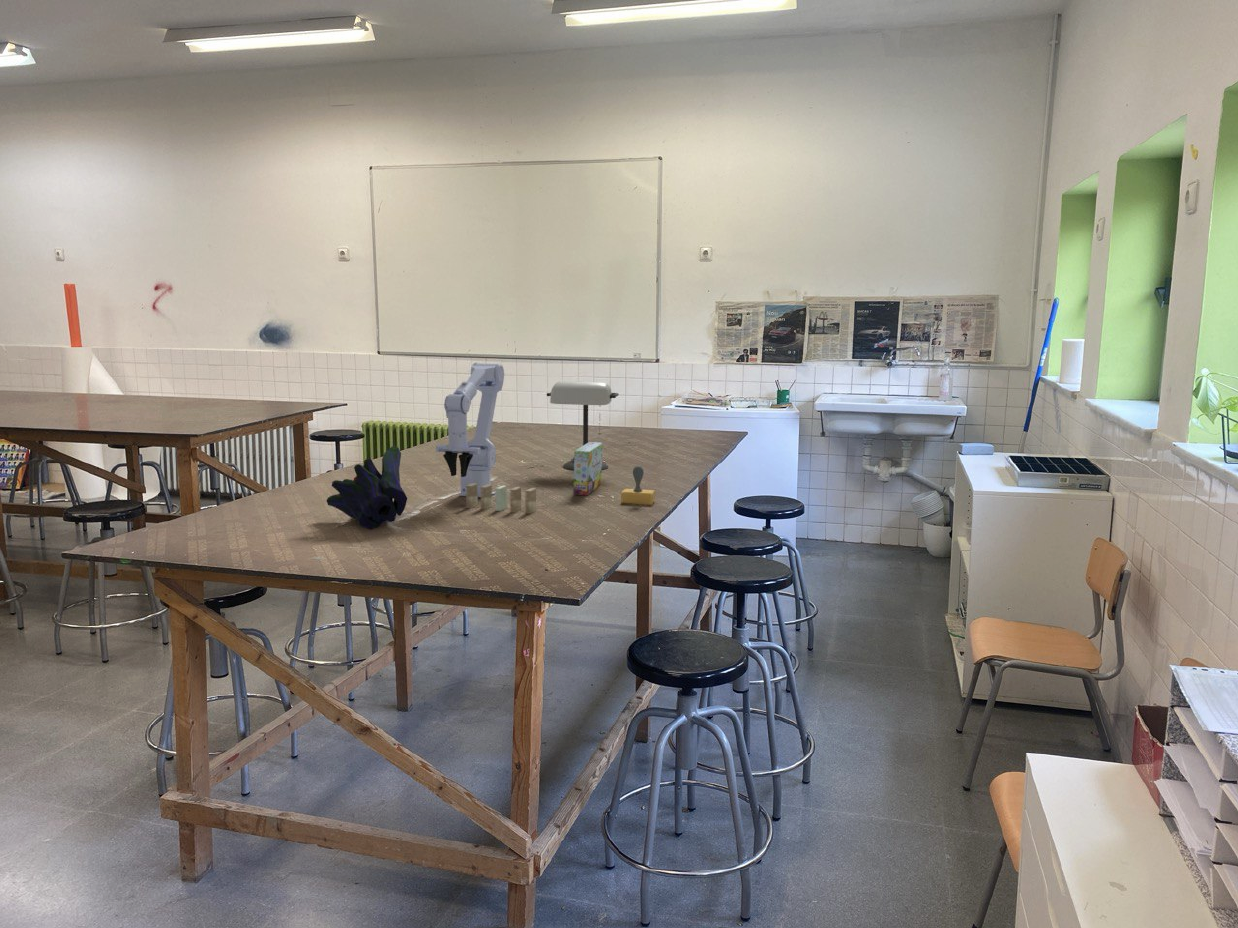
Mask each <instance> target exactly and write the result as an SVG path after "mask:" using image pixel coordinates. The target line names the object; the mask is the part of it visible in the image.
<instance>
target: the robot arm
mask: <svg viewBox="0 0 1238 928" xmlns="http://www.w3.org/2000/svg"><path fill="white" fill-rule="evenodd" d="M504 379H505V370H504V366H503V365H502V364H501V363H498V362H497V363H487V362H486V363H484V362H482V363H480V362H473V363H472V365H471V368H470V376H469V377H468V379H467V381H462V382H461V383H460V385H458V387H457V389H456V390H455V391H454V392H453V393H449V394H448V395H446V397H445V399H444V404H443V406H444V410H445V416H446V419H447V424H448V426H447V427H448V431H447V432H448V433H447V434H448V444H446V445H443V444H441V445H440V444H438V445H435V452H436V453H444V454H443V458H444V460H445V462H446V465H447V466H448V469H449V472H450V476H451V477H454V476H457V470H458V469H457V461H458V459H459V464H460V478H459V479H460V494H459V496H461V497H466V486H467V485H470V484H472V483H476V484H477V496H478V498H481V487H482V486H484V485H487V484H488V485H492V483H491V481H492V480H491V479H492V478H491V469H492V468H494V467H495V465H496V460H497V455H496V453H497V448H496V446H495V445H494V443H493V442H491V441H490V436H491V430H492V426H493V421H494V420H493V419H494V415H495V408H496V403H497V397H498V393H499V392H501V391H502V388H503V385H504ZM478 391H480V392H481V397H480V404H479V409H478V415H477V420H476V424H475V425H476V427H475V432H474V437H473V438H472V439H470V440H468V419H467V418H468V412H469V411H470V407H471V404H472V400H473V399H474V397H475V396H476V395H477V393H478ZM493 495H496V491H492V496H493Z"/></svg>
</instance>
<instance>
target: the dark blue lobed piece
mask: <svg viewBox="0 0 1238 928" xmlns="http://www.w3.org/2000/svg"><path fill="white" fill-rule="evenodd" d="M401 457H402V452H401V450H400V448H399V447H398V446H397V445H392V446H391V447H389V448H388V449H387V450H386V451H385V452H384V453H383V456H382V459H381V465H382V466H381V472H379V470H378V469H377V467H376V466H375V463H374V462H373V460H372V459H371V458H369V459H368V458H367V459H365V460H363V465H362V464H360V463H358V464H356V465H354V467H353V469H354V472H355V475H356V476H354V477H353V479H348V478H345V479H343V480H338V479H337V480H333V481H332V482H331V487H332V488H334V489H335V490H336V491H337V493H336V494H332V495H331V496H329V497H327V499H325V500H326V502H327V506H329V507H332V508H335V509H337V510H339V511H341V512H342V513H344V514H345V515H347V516H348V517H350V518H351V519H353V520H354V521H356V522H358V523H359V525H360V526H361V527H363V528H366V529H369V530H373V529H376V528H378V527H379V526H381V525H383V524H384V523H387V522H389V523H393V522H395V521H396V517H397V516H398V517H400V516H401V515H402V514H403V512H404V510H405V509H406V506H407V501H408V497H407V495H406V493H405V491H404V490H403V488H402V486H401V483H400V482H401V477H400V467H401V466H400V465H401V459H402V458H401Z"/></svg>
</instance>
